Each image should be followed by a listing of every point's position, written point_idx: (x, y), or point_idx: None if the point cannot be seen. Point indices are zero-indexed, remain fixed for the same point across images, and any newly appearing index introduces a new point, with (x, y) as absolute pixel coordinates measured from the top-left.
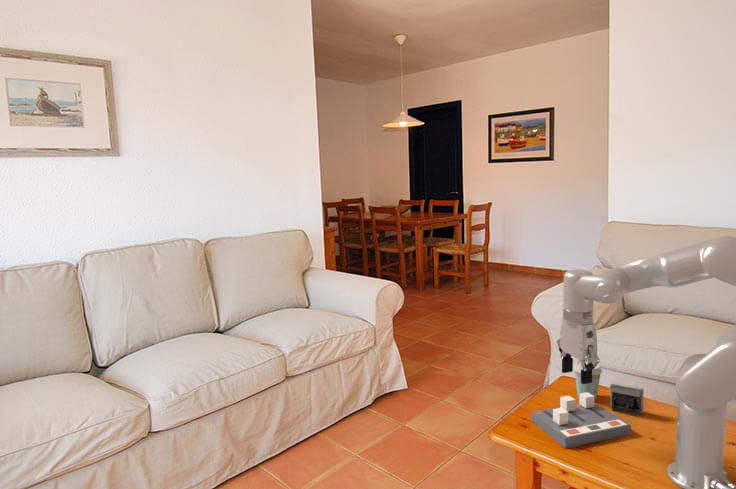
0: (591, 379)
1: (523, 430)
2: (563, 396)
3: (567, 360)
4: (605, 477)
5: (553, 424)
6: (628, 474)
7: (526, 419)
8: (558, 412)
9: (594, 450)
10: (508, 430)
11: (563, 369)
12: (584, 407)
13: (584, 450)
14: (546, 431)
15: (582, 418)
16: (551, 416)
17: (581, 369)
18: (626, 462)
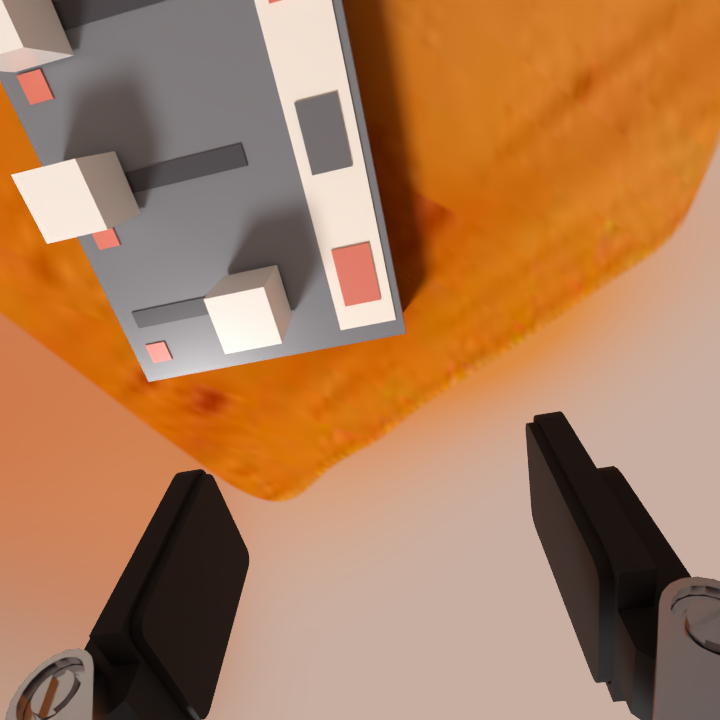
0: (572, 438)
1: (250, 414)
2: (35, 219)
3: (185, 681)
4: (638, 250)
5: None
6: (660, 132)
7: None
8: (265, 342)
9: (441, 190)
10: (249, 462)
11: (236, 593)
12: None
13: (433, 238)
14: None
15: (209, 147)
16: (194, 312)
17: (614, 696)
18: (574, 79)
